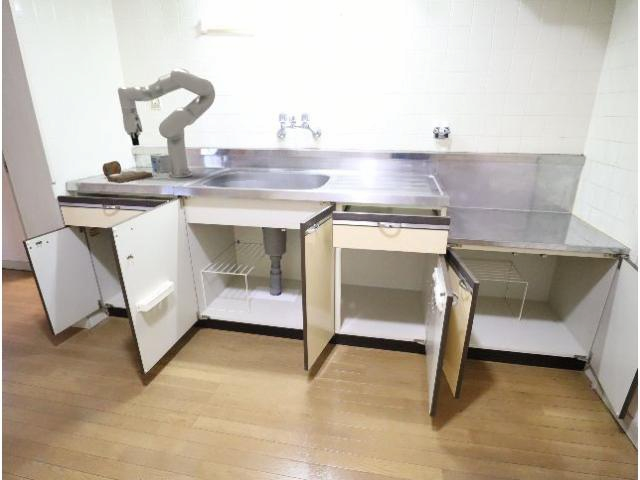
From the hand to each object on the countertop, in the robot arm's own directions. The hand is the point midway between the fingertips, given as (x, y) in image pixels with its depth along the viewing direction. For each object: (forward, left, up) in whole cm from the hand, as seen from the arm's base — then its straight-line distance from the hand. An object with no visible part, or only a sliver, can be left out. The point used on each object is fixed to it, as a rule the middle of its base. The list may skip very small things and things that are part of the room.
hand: (136, 145), depth 206 cm
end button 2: (0, +1, -18) cm, 18 cm away
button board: (-2, +8, -18) cm, 20 cm away
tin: (+16, +8, -18) cm, 25 cm away
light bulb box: (+3, -16, -18) cm, 25 cm away
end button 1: (0, +15, -18) cm, 23 cm away
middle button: (0, +8, -16) cm, 18 cm away
